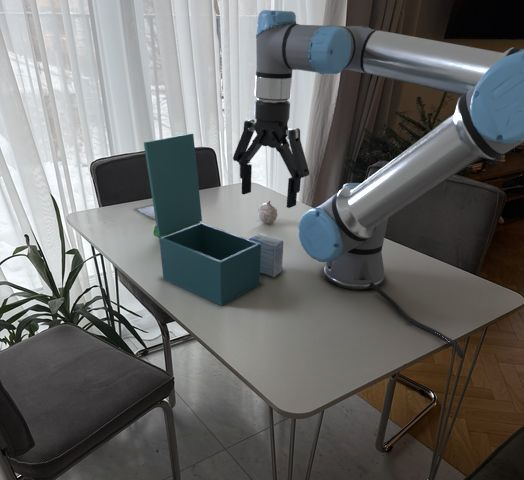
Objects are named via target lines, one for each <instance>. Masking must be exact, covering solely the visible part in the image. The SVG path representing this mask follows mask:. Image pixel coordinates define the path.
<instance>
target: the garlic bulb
mask: <svg viewBox="0 0 524 480" xmlns="http://www.w3.org/2000/svg"><path fill="white" fill-rule="evenodd" d="M257 215H258V218H259V220H260V221H261V222H262V223H265V224H268V225H269V224H273V223H274V222H275V221H276V220H277V218H278V209H277V208H276V207H275V205H274V204H272V203H271V200H269V201H268V202H264V203H262V204H261V205H260V206H259V208H258V211H257Z"/></svg>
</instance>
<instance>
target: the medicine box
mask: <svg viewBox="0 0 524 480" xmlns="http://www.w3.org/2000/svg"><path fill="white" fill-rule="evenodd" d="M249 240H252V241H254V242H257V243H260V244H261V256H260V274H263V275H266V276H269V277H272V278H274V277H276V276H277V275H279V274H280V273H281V272H282V271H283V259H284V257H283V256H284V240H282V239H279V238H275V237H272V236H267V235H264V234H260V233H257V234H255V235H253V236H251V237H249Z"/></svg>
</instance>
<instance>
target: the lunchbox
mask: <svg viewBox="0 0 524 480" xmlns="http://www.w3.org/2000/svg"><path fill="white" fill-rule="evenodd" d="M158 239H159V248H160V249H159V250H160V258H161V270H162V278H163V280H164V281H167V282H169V283H170V284H173V285H175V286H177V287H180V288H182V289H183V290H186V291H188V292H189V293H192V294H194V295H197V296H199V297H201V298H203V299H206V300H207V301H210V302H212V303H214V304H216V305H218V306H222V307H223V306H224V305H225V304H227V303H229V302H231V301H232V300H234V299H237V298H239V297H241V296H242V295H244V294H246V293H247V292H249V291H251V290H253V289H254V288H256V287H258V286H260V280H261V273H260V256H261V244H260V243H257V242H254V241H252V240H249V239H250V238H249V239H248V238H246V237H243V236H240V235H238V234H234V233H232V232H229V231H226V230H223V229H220V228H218V227H215V226H212V225H209V224H207V223H204V222H200V223H199V224H196V225H193V226H191V227H188V228H185V229H182V230H180V231H177V232H174V233H172V234H169V235H166V236H164V237H161V238H158Z"/></svg>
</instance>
